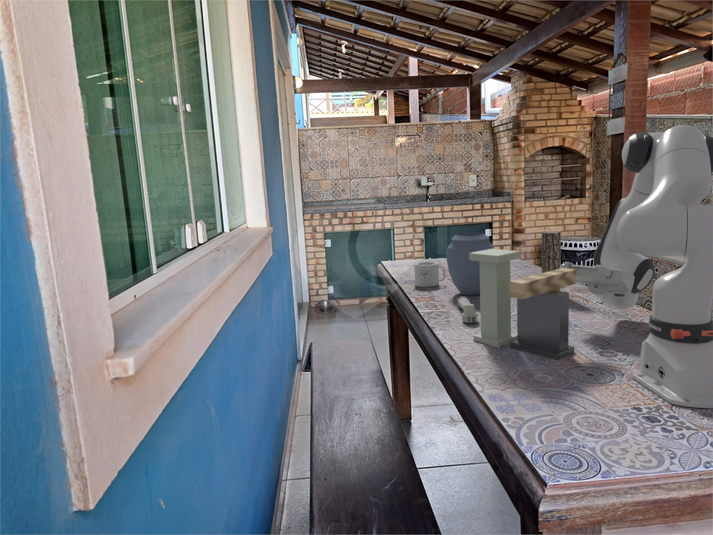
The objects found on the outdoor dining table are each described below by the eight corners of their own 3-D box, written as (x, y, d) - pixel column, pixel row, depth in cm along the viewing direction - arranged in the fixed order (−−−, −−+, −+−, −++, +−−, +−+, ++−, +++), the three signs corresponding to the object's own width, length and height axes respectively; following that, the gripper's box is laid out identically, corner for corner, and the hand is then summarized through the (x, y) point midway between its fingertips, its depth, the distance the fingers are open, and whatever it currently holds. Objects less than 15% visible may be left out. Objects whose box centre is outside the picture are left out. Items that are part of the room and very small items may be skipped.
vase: (437, 294, 211) (435, 235, 207) (467, 286, 223) (465, 230, 219) (476, 301, 196) (474, 238, 192) (505, 292, 208) (505, 232, 204)
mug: (413, 287, 228) (412, 265, 226) (417, 282, 238) (416, 261, 236) (443, 287, 224) (442, 265, 222) (446, 282, 234) (446, 261, 232)
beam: (562, 281, 146) (563, 267, 145) (575, 283, 143) (576, 269, 142) (509, 296, 132) (508, 281, 131) (522, 299, 129) (522, 283, 128)
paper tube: (561, 296, 196) (562, 231, 192) (543, 296, 197) (543, 232, 193) (558, 292, 203) (558, 229, 198) (540, 292, 204) (540, 230, 200)
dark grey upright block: (529, 340, 148) (528, 284, 145) (574, 352, 136) (575, 291, 133) (511, 347, 143) (510, 289, 140) (556, 359, 132) (557, 297, 129)
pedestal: (493, 333, 157) (492, 248, 152) (521, 340, 149) (520, 251, 144) (471, 340, 151) (469, 253, 146) (498, 348, 143) (497, 255, 138)
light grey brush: (468, 295, 191) (478, 302, 166) (469, 313, 191) (479, 322, 166) (454, 295, 192) (462, 302, 167) (455, 313, 192) (463, 323, 167)
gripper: (574, 269, 164) (552, 252, 156) (640, 276, 147) (619, 258, 139) (568, 287, 163) (546, 272, 155) (634, 297, 146) (613, 280, 138)
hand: (581, 265), depth 147 cm, fingers open, 8 cm apart
